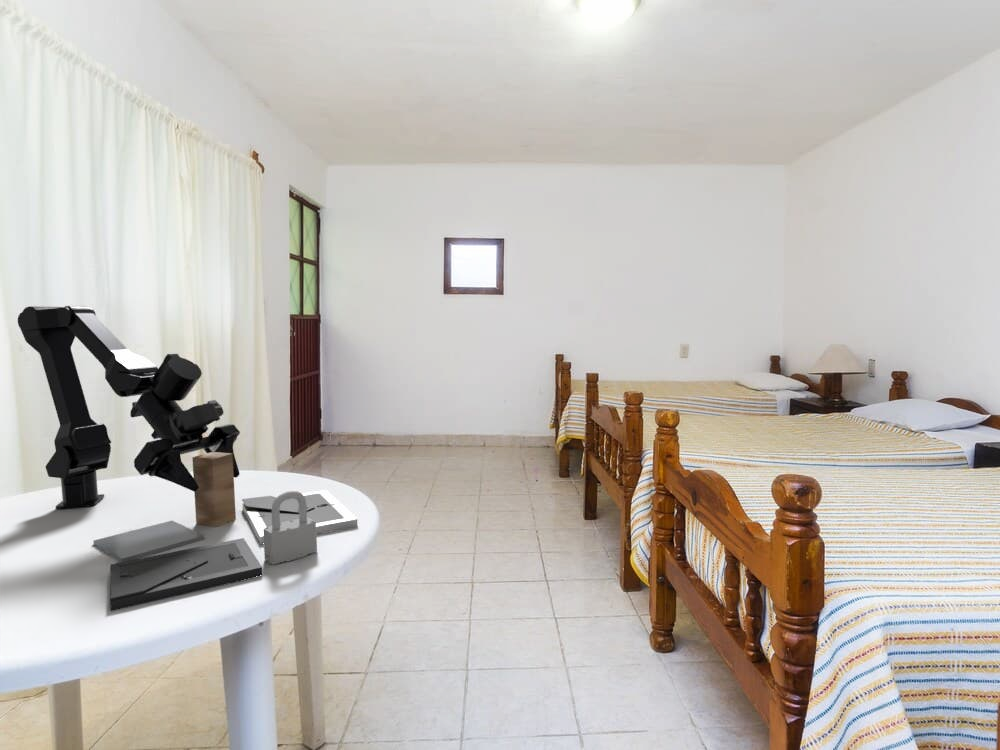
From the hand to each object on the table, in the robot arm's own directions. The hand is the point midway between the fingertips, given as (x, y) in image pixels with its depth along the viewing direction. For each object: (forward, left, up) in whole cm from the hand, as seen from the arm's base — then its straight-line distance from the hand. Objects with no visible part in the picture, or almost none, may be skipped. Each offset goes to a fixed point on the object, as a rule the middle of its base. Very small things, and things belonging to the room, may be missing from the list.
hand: (218, 482), depth 104 cm
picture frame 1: (+22, -2, -8) cm, 24 cm away
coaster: (+6, -10, -7) cm, 14 cm away
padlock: (+20, +12, -7) cm, 25 cm away
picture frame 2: (+2, +13, -8) cm, 16 cm away
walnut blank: (-1, -1, -7) cm, 7 cm away
